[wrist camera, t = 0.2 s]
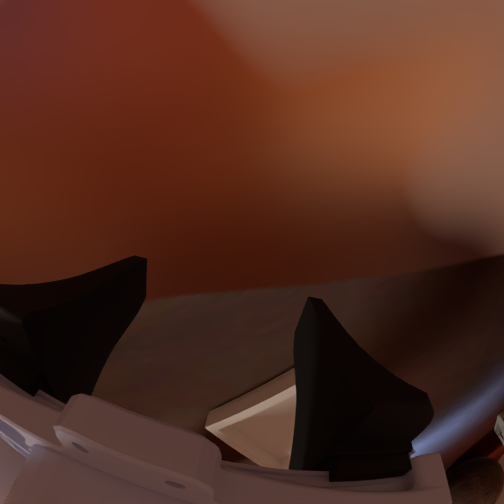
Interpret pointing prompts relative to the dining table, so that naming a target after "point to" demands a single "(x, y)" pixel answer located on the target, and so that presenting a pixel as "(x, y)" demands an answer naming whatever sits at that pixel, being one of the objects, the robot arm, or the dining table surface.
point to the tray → (260, 422)
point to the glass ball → (476, 481)
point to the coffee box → (500, 426)
